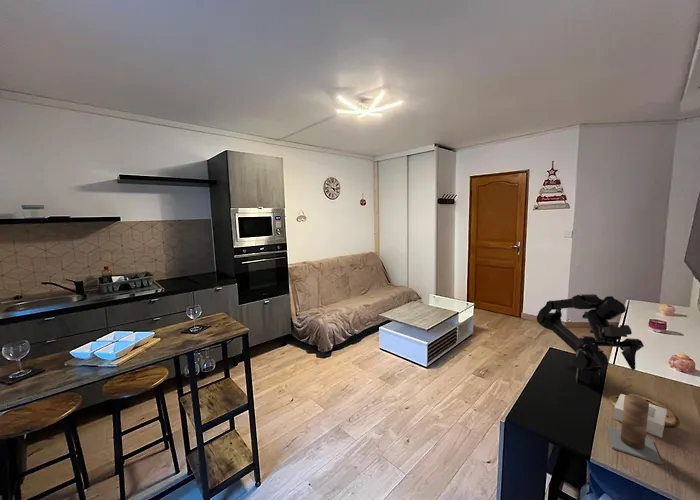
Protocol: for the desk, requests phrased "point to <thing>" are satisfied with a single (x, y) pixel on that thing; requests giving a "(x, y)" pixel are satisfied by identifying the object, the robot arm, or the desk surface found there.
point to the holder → (654, 416)
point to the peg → (634, 421)
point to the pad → (646, 453)
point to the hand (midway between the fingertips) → (618, 368)
